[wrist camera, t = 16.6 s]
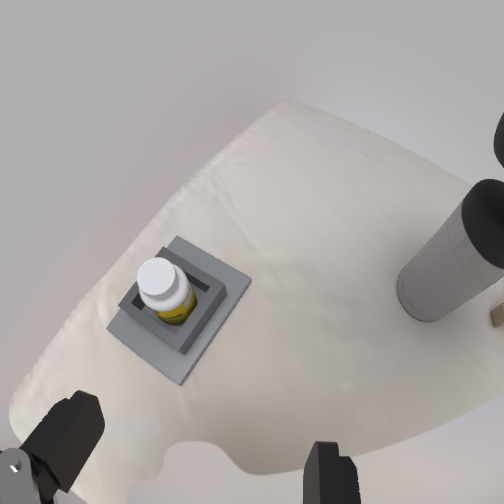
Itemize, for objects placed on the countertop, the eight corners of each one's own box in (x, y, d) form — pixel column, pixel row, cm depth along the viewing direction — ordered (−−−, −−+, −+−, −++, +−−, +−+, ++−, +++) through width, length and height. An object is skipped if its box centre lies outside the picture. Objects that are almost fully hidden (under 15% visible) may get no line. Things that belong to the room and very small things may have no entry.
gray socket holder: (178, 239, 44) (171, 221, 40) (251, 281, 41) (251, 266, 37) (109, 330, 38) (94, 321, 33) (181, 385, 35) (171, 382, 31)
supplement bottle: (151, 321, 37) (121, 293, 29) (163, 281, 40) (140, 245, 31) (191, 331, 37) (172, 307, 28) (203, 290, 39) (189, 255, 30)
